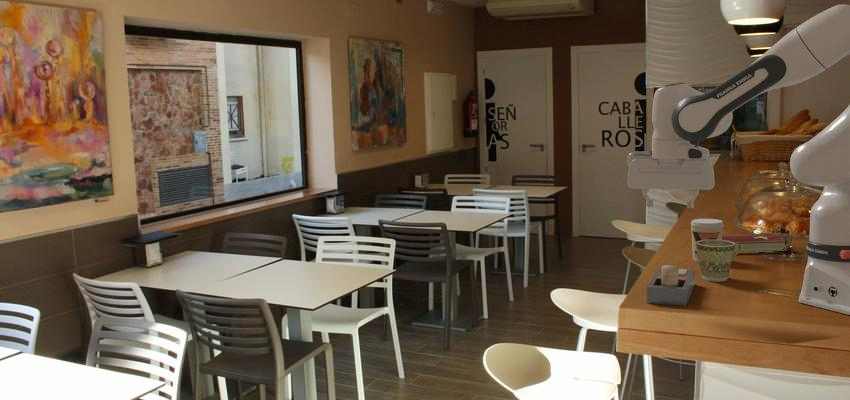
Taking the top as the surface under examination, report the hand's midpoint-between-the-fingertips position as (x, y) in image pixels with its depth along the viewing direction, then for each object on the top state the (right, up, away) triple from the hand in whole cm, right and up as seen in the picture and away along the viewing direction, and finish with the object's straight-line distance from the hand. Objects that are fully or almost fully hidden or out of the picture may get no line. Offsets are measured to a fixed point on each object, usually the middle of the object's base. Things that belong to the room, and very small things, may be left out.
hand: (670, 207), depth 188 cm
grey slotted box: (+3, -22, +8) cm, 24 cm away
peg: (+1, -23, +3) cm, 23 cm away
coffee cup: (+25, -17, +45) cm, 54 cm away
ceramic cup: (+21, -20, +22) cm, 36 cm away
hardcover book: (+44, -15, +59) cm, 75 cm away
